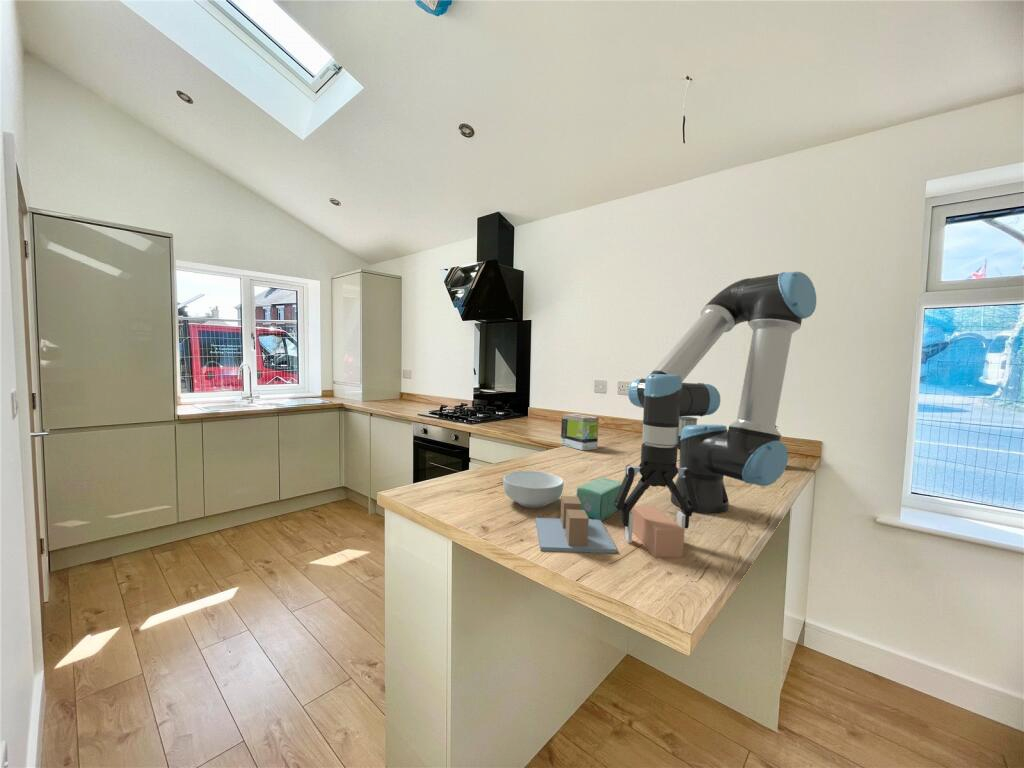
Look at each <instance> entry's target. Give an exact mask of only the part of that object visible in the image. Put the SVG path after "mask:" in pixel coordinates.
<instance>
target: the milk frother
mask: <svg viewBox="0 0 1024 768" xmlns="http://www.w3.org/2000/svg"><path fill="white" fill-rule="evenodd" d="M697 422H698V418H696V417H694V416H681V417H679V433H678V444H676V445H675V446H676V447H677V448H678V449H679V450H680V439H681V433H682V429H683V428H684V427H685V426H687V425H698V424H697Z"/></svg>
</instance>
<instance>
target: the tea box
mask: <svg viewBox="0 0 1024 768" xmlns="http://www.w3.org/2000/svg"><path fill="white" fill-rule="evenodd" d="M599 419H600V418H599V416H591V415H586V414H585V415H584V414H580V413H567V414H566V413H565V414H562V415H561V426H560V427H561V429H560V445H562V446H565V447H569V448H573V449H576V450H581V451H591V450H597V449H598V442H599V441H598V440H599V439H598V437H599Z"/></svg>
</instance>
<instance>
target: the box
mask: <svg viewBox="0 0 1024 768" xmlns="http://www.w3.org/2000/svg"><path fill="white" fill-rule="evenodd" d="M622 482H623V481H622ZM622 482H621V481H619V480H618V481H617V480H614V479H611V478H606V477H602V476H601V477H598V478H596V479H594V480H590V481H588V482H586V483H584V484H582V485H580V486H578V487H577V489H576V497H578V498H579V500H580V502H581V510H585V512H586V514H587V516H588V518H589V519H591V520H600V521H601V522H602V521H604V520H605V519H607V518H608V517H610V516H611V515H614V514H615V513H616V512H618V511H619V510H618V509H617V508H616V507H615V505H614V502H615V499H616V497H617V494H618V492H619V490H620V487H621V485H622Z"/></svg>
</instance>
